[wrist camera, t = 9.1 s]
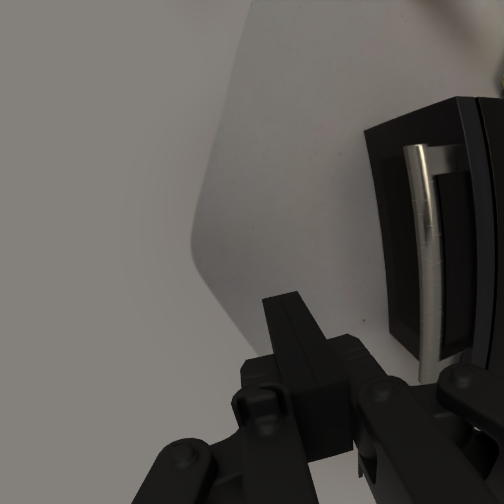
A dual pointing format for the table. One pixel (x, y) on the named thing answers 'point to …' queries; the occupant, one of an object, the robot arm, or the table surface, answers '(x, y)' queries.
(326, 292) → the table surface
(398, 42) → the table surface
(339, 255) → the table surface
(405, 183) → the oven door
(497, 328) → the oven
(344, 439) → the robot arm
